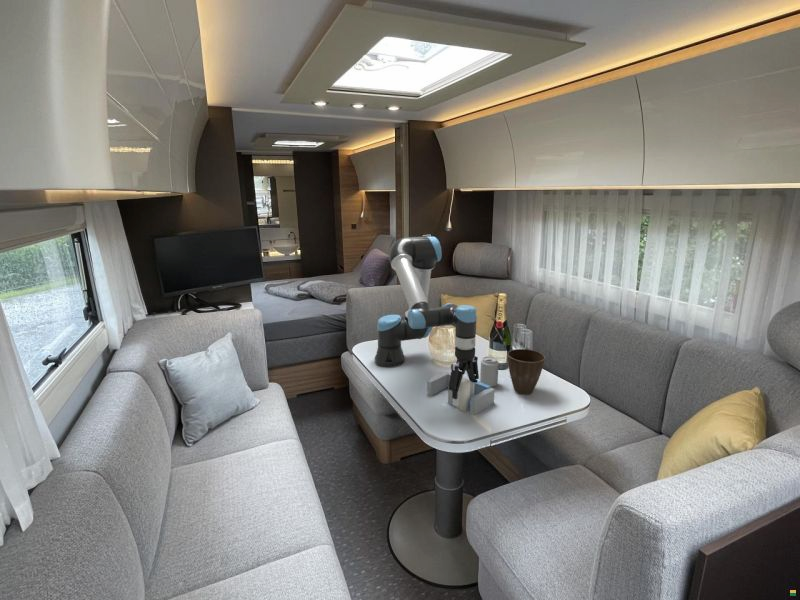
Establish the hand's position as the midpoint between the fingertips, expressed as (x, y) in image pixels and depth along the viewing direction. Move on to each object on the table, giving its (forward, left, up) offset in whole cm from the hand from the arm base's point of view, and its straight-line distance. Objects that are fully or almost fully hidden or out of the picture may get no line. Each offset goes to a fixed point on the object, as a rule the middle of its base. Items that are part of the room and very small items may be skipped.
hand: (463, 401), depth 154 cm
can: (-4, +24, -3) cm, 25 cm away
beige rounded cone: (0, 0, -3) cm, 3 cm away
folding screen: (-5, +5, -3) cm, 8 cm away
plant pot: (+10, +29, -3) cm, 31 cm away
